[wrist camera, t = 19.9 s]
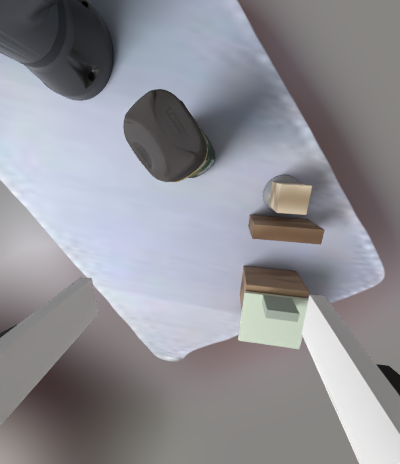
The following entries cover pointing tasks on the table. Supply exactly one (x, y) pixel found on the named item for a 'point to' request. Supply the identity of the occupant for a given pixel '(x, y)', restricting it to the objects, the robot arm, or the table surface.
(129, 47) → the table surface
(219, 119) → the table surface
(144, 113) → the coffee jar
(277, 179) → the grey round disc
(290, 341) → the cover
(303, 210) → the block
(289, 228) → the brown and beige stand
